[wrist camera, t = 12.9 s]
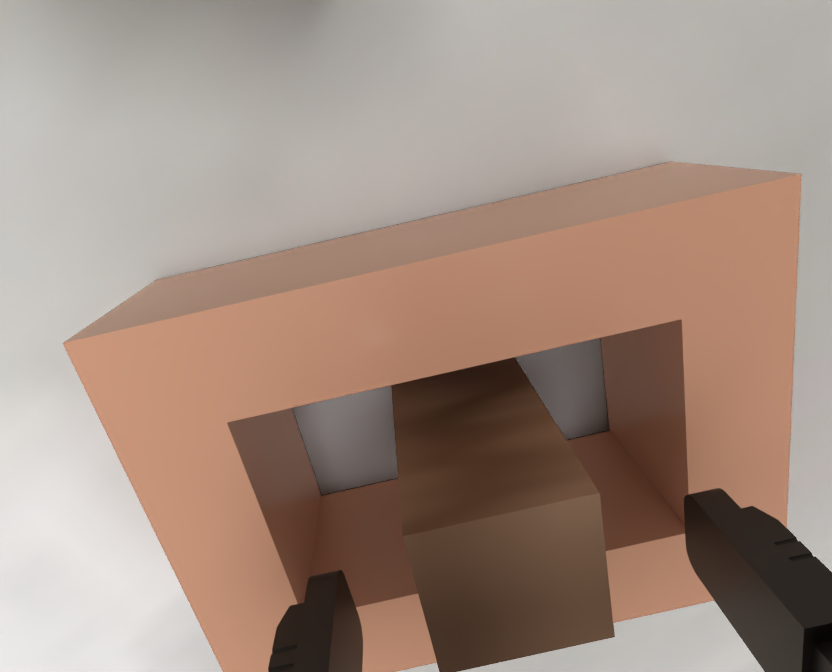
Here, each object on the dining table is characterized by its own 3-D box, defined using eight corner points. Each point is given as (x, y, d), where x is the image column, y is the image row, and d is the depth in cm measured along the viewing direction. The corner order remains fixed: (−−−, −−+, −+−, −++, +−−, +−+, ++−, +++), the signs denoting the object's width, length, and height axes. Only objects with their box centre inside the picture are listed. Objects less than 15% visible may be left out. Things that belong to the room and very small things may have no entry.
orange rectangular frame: (671, 161, 18) (801, 174, 13) (684, 475, 23) (784, 584, 17) (156, 279, 19) (62, 343, 13) (272, 567, 23) (239, 706, 18)
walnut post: (494, 325, 20) (599, 492, 11) (509, 418, 22) (614, 636, 12) (389, 349, 20) (402, 536, 11) (411, 440, 22) (440, 675, 12)
